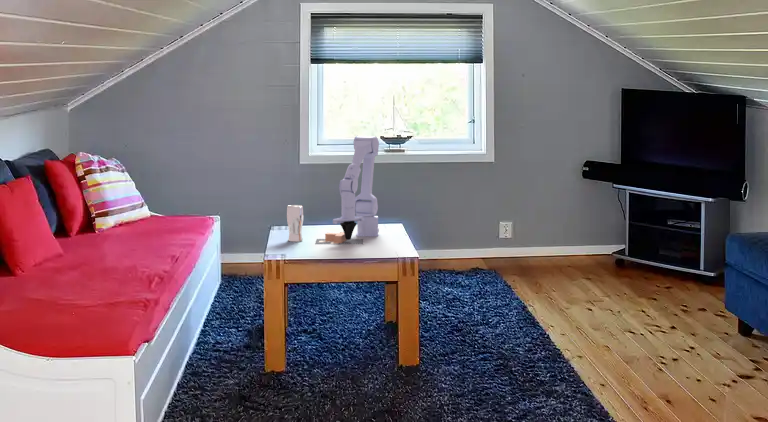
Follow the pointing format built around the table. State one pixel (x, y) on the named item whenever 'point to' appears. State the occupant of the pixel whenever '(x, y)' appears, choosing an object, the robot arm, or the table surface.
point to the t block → (335, 237)
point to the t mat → (351, 241)
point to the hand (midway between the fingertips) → (348, 239)
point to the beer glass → (295, 222)
